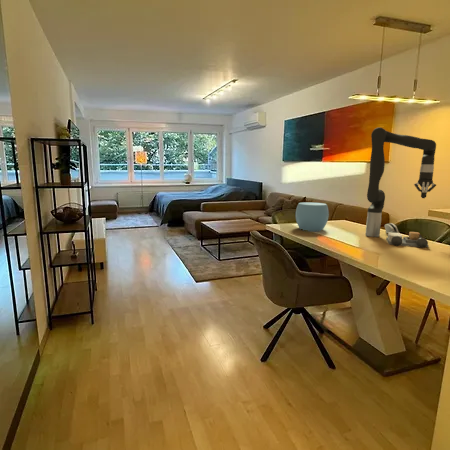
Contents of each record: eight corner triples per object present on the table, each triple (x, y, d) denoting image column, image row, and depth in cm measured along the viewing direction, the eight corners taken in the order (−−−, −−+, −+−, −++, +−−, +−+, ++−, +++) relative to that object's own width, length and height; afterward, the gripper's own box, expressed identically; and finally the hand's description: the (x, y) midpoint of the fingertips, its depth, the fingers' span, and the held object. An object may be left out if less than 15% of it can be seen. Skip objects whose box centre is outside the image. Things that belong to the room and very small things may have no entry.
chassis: (389, 245, 207) (390, 235, 206) (385, 238, 225) (386, 230, 224) (429, 248, 199) (430, 238, 198) (422, 241, 218) (423, 233, 217)
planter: (324, 227, 268) (325, 202, 264) (330, 233, 243) (332, 205, 240) (293, 226, 270) (294, 201, 267) (296, 231, 246) (298, 205, 242)
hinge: (402, 238, 229) (398, 224, 228) (395, 239, 230) (391, 226, 229) (392, 233, 246) (389, 220, 244) (386, 235, 246) (383, 222, 245)
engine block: (409, 242, 209) (410, 233, 208) (408, 240, 214) (409, 231, 213) (418, 242, 208) (419, 233, 206) (417, 241, 212) (418, 232, 211)
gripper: (416, 171, 211) (413, 198, 214) (439, 171, 207) (436, 199, 210) (413, 171, 218) (411, 197, 221) (436, 171, 214) (433, 198, 217)
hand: (423, 198), depth 215 cm, fingers closed
